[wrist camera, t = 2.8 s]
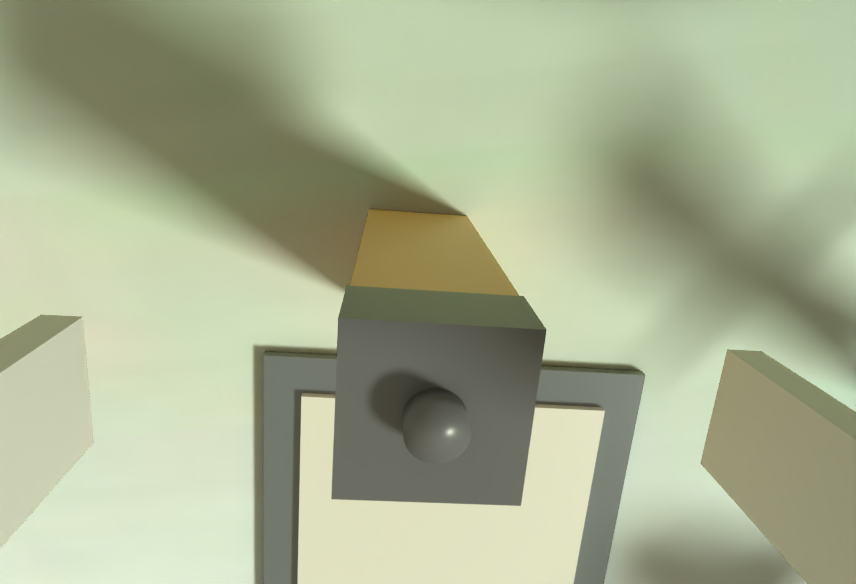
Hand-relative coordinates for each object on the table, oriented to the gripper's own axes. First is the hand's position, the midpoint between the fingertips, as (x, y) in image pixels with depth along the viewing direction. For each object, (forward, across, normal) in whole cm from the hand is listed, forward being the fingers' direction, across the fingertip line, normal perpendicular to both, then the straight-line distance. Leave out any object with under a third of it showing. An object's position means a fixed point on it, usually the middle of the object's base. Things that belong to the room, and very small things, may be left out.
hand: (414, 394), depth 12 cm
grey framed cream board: (+11, +2, -14) cm, 18 cm away
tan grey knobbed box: (+11, 0, 0) cm, 11 cm away
